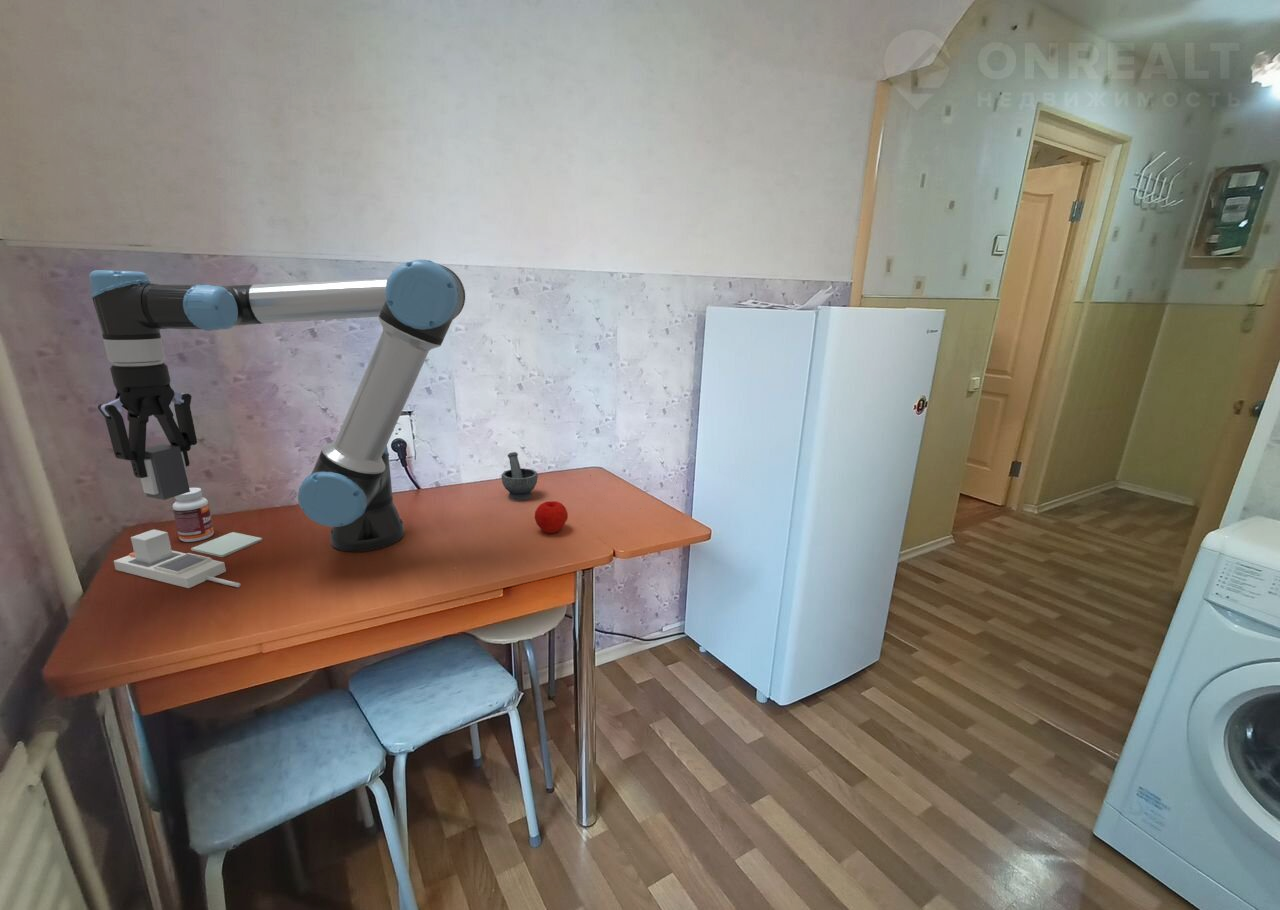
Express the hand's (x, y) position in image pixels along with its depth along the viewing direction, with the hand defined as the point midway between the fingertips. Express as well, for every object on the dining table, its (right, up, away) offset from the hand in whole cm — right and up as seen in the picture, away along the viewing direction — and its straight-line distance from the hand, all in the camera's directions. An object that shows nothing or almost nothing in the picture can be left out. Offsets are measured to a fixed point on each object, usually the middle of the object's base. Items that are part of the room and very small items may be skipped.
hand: (167, 488), depth 102 cm
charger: (0, -1, 0) cm, 1 cm away
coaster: (-2, -14, +17) cm, 22 cm away
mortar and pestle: (+54, -6, +52) cm, 76 cm away
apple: (+67, -12, +30) cm, 75 cm away
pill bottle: (-11, -13, +21) cm, 27 cm away
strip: (-1, -17, +5) cm, 18 cm away
